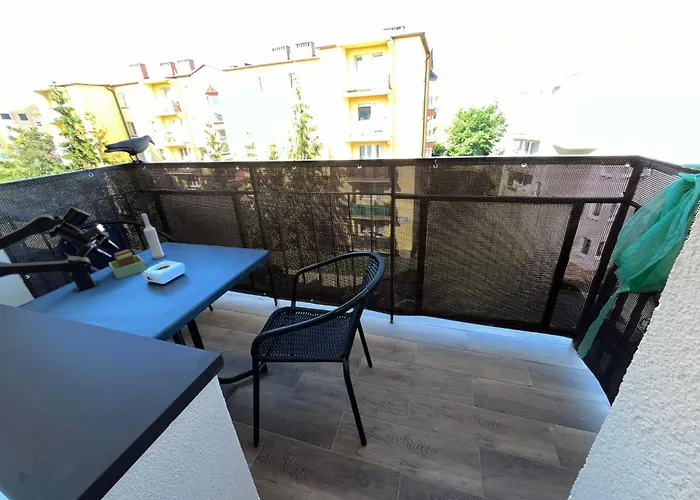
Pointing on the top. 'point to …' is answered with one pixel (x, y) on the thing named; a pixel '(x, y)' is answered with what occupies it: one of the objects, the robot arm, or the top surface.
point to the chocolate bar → (124, 258)
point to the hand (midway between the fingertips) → (114, 253)
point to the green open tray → (128, 268)
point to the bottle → (152, 239)
